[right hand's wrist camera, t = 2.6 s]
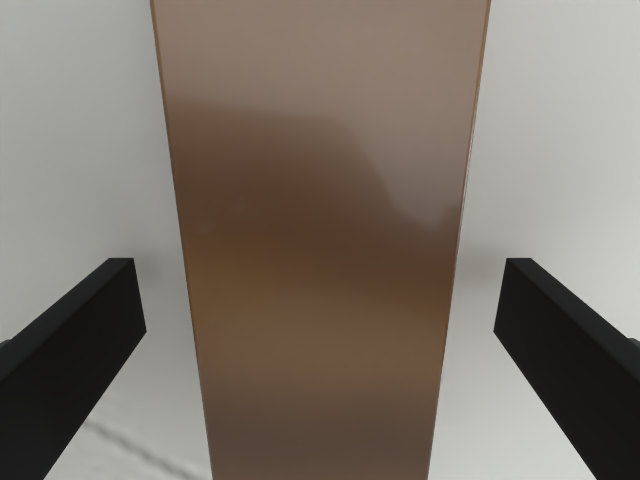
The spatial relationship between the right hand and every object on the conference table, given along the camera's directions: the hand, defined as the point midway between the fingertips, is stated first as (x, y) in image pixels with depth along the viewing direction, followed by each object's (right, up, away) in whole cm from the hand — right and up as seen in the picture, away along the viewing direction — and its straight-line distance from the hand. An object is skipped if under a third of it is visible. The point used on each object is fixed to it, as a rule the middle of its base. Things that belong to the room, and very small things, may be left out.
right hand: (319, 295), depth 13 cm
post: (0, +21, -6) cm, 22 cm away
